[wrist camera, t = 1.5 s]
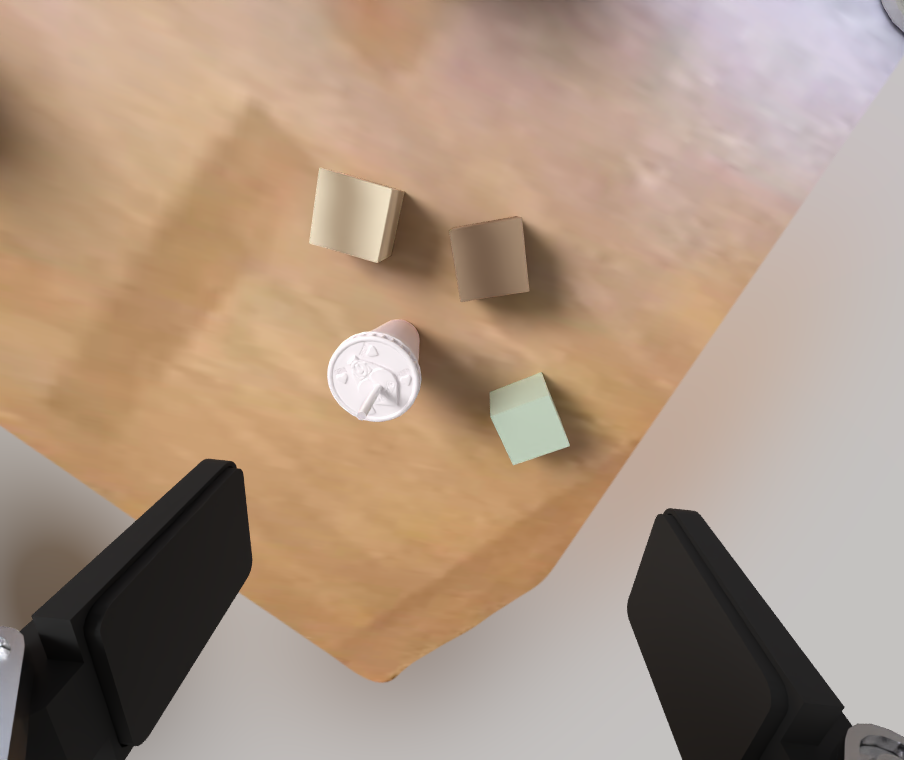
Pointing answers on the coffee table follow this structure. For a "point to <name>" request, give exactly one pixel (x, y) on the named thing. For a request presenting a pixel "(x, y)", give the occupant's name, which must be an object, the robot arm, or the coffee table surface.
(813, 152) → the coffee table surface
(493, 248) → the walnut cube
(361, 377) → the smoothie
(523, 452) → the sage painted cube
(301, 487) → the coffee table surface
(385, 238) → the maple cube
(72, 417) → the coffee table surface
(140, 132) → the coffee table surface
